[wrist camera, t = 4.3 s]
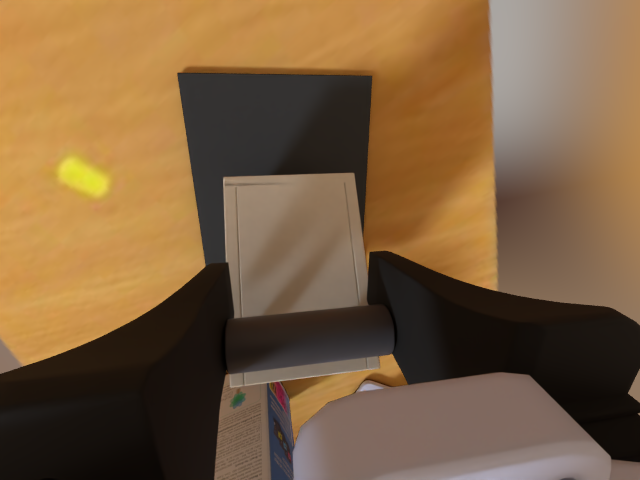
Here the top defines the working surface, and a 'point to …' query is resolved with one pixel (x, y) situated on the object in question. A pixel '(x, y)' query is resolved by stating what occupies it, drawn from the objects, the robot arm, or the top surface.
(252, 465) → the ink cartridge box
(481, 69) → the top surface
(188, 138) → the mat
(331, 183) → the white case
